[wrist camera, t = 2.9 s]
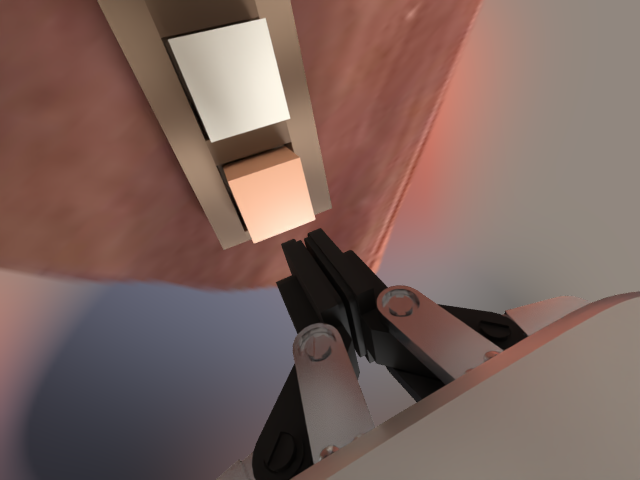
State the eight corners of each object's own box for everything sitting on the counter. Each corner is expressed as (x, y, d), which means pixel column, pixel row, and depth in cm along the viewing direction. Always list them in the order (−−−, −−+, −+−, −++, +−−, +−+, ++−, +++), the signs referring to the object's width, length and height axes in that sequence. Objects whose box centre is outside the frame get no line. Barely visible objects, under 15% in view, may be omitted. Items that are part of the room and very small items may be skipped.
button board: (29, -158, 11) (-18, -225, 8) (233, -173, 12) (243, -232, 10) (219, 229, 21) (223, 249, 18) (316, 193, 22) (332, 208, 20)
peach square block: (222, 165, 17) (227, 181, 14) (284, 145, 17) (299, 157, 15) (245, 222, 19) (253, 243, 16) (300, 201, 20) (315, 219, 17)
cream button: (171, 45, 13) (167, 39, 11) (252, 27, 14) (265, 18, 12) (207, 131, 15) (211, 142, 13) (275, 111, 16) (290, 118, 14)
